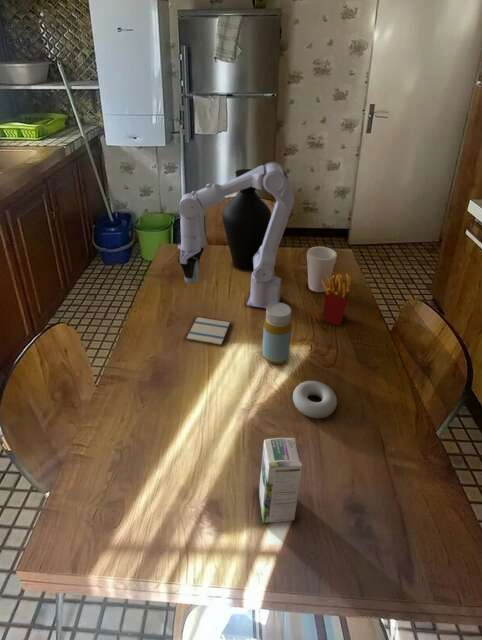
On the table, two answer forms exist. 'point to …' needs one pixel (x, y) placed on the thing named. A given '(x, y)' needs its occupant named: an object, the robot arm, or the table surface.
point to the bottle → (276, 333)
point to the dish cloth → (208, 330)
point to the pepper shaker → (195, 274)
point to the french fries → (335, 298)
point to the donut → (314, 408)
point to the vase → (245, 225)
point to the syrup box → (279, 479)
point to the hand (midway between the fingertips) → (191, 273)
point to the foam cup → (319, 267)
